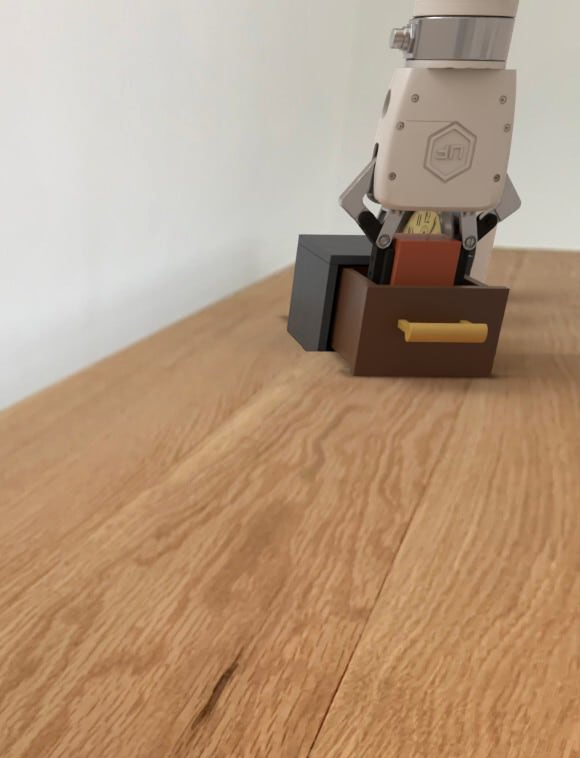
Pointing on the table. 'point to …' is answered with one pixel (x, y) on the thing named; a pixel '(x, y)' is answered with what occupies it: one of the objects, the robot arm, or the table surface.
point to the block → (424, 259)
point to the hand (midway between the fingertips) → (411, 295)
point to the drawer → (415, 326)
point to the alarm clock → (428, 224)
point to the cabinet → (323, 284)
